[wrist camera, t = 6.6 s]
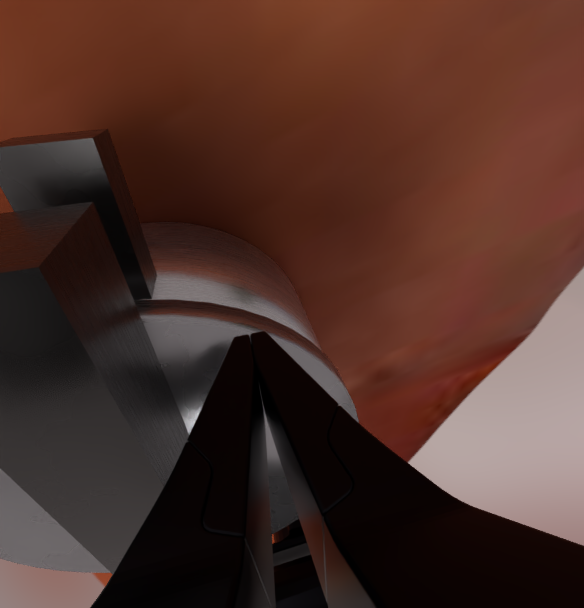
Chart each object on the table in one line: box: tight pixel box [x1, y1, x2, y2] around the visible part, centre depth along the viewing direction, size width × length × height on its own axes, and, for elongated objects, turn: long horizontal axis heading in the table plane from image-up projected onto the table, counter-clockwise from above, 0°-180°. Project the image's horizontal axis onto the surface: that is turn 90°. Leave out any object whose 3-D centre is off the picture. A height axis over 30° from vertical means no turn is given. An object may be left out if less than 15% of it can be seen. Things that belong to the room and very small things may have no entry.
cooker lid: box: [0, 202, 359, 574], centre depth 12 cm, size 19×16×4 cm
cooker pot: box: [0, 129, 322, 351], centre depth 16 cm, size 20×15×7 cm
